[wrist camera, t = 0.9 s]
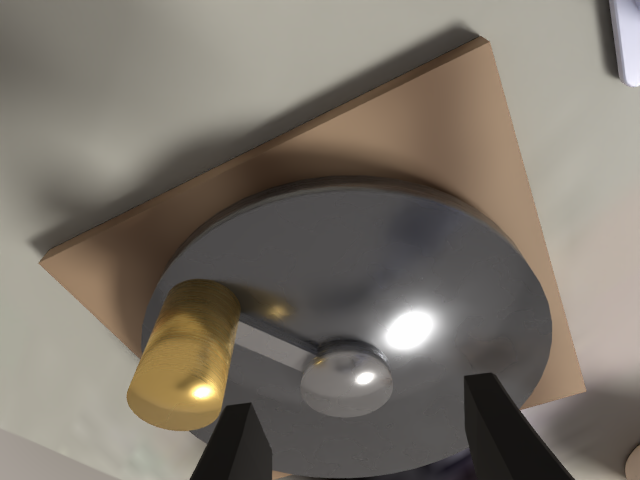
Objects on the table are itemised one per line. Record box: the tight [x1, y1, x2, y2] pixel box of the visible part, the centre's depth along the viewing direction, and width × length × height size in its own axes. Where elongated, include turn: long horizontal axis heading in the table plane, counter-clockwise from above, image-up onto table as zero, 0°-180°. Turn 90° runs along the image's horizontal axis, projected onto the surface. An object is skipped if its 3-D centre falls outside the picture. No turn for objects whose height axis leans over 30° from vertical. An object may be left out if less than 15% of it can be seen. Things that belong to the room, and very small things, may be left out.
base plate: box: [39, 36, 586, 480], centre depth 23 cm, size 20×20×1 cm
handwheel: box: [127, 175, 552, 478], centre depth 20 cm, size 18×18×6 cm
